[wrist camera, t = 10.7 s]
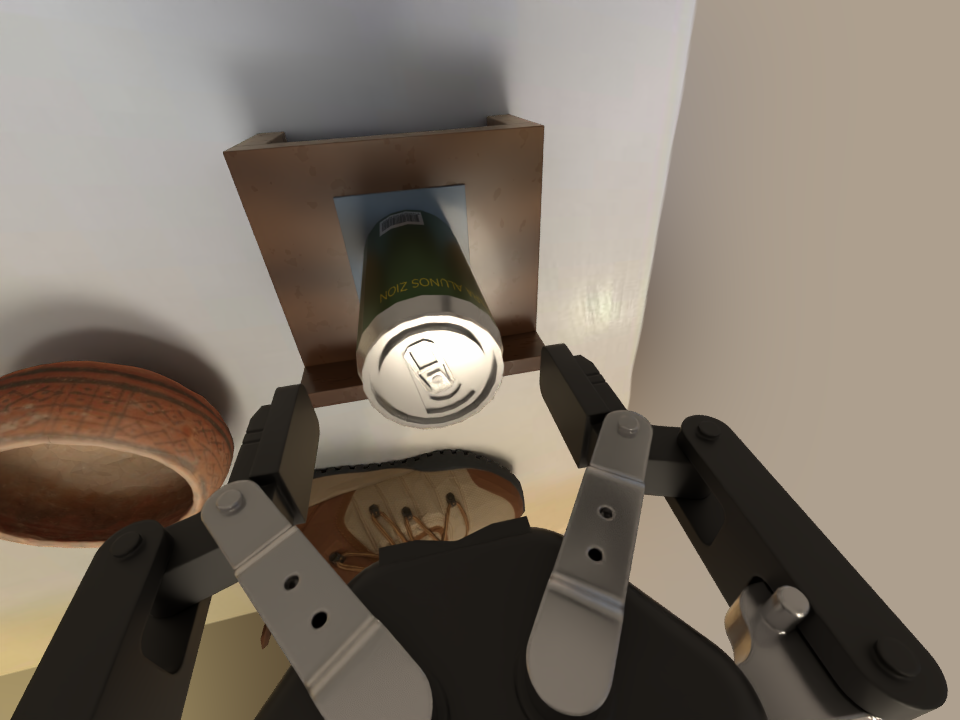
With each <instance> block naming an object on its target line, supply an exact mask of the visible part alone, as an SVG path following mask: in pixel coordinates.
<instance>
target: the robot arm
mask: <svg viewBox="0 0 960 720" xmlns="http://www.w3.org/2000/svg"><path fill="white" fill-rule="evenodd" d="M540 390H541V394H542V397H543V399H544V401H545V403H546V405H547V407H548V409H549V411H550V413H551V415H552V417H553V419H554V421H555V423H556V425H557V427H558V429H559V431H560V433H561V435H562V437H563V439H564V441H565V443H566V445H567V447H568V449H569V451H570V453H571V455H572V457H573V459H574V461H575V463H576V465H577V467H578V469H579V468H584V467H587V468H586V470H585V473H584V476H583V479H582V483H581V486H580V489H579V492H578V495H577V498H576V501H575V504H574V507H573V510H572V513H571V516H570V519H569V523H568V526H567V529H566V532H565V535H564V536H563V535H561V534H559V533H556V532H554V531H551V530H547V529H543V528H537V527H530V525H529V522H528V519H527V516H524V517H520V518H515V519H511V520H506V521H501V522H497V523H492V524H490V525H488V526H486V527H484V528H482V529H480V530H478V531H476V532H474V533H472V534H470V535H468V536H466V537H464V538H462V539H459V540H456V541H436V540H414V541H409V542H404V543H400V544H395V545H391V546H386V547H381V548H379V561H377V562H375V563H373V564H371V565H370V566H368V567H367V568H365V569H364V570H362V571H361V572H360V573H359V574H357V575H356V576H355V577H354V578H353V579H352V580H351V581H350V582H349V583H348V584H347V585H346V583H345V582H344V581H343V580H342V579H341V577H340V576H339V575H338V574H337V573H336V572H335V570H334V569H333V568H332V567H331V566H330V565H329V563H328V562H327V561H326V560H325V559H324V558H323V556H322V555H321V554H320V553H319V552H318V551H317V549H316V548H315V547H314V546H313V545H312V544H311V542H310V541H309V540H308V539H307V538H306V536H305V535H304V534H303V533H302V532H301V531H300V529H299V528H298V527H297V526H296V525H298V524H303V523H306V520H307V513H308V507H309V500H310V494H311V488H312V481H313V475H314V468H315V462H316V455H317V449H318V442H319V435H320V430H319V422H318V418H317V416H316V413H315V411H314V408H313V406H312V403H311V401H310V398H309V396H308V393H307V391H306V388H305V386H304V385H303V384H297V385H291V386H284V387H278V388H277V389H276V391H275V394H274V397H273V400H272V403H271V405H265V406H261V408H260V409H259V410H258V411H257V412H256V413H255V414H254V416H253V417H252V418H251V420H250V422H249V425H248V428H247V431H246V433H247V434H245V436H244V439H243V442H242V443H243V445H241V448H240V450H239V453H238V456H237V459H236V462H235V464H234V467H233V470H232V473H231V476H230V478H229V481H228V484H227V485H225V486H223V487H221V488H219V489H218V490H217V491H215V492H214V493H213V494H212V495H211V496H210V497H209V498H208V499H207V501H206V502H205V504H204V505H203V507H202V510H201V512H199V513H197V514H195V515H193V516H190V517H188V518H186V519H183V520H181V521H179V522H177V523H174V524H172V525H170V526H167V527H165V528H164V527H163V526H162V525H161V524H160V523H159V522H158V521H155V520H141V521H138V522H134V523H132V524H129V525H127V526H125V527H123V528H122V529H120V530H119V531H117V532H116V533H114V534H113V535H112V536H110V537H109V538H108V539H107V540H106V541H105V542H104V543H103V544H102V545H101V547H100V548H99V549H98V551H97V552H96V554H95V556H94V558H93V560H92V562H91V564H90V566H89V567H88V569H87V571H86V573H85V575H84V577H83V579H82V581H81V583H80V585H79V587H78V589H77V591H76V593H75V595H74V597H73V599H72V601H71V603H70V604H69V606H68V608H67V610H66V612H65V614H64V616H63V618H62V620H61V622H60V624H59V626H58V628H57V630H56V632H55V634H54V636H53V638H52V640H51V642H50V643H49V645H48V647H47V649H46V651H45V653H44V655H43V657H42V659H41V661H40V663H39V665H38V667H37V669H36V671H35V673H34V675H33V677H32V679H31V680H30V683H29V684H28V686H27V688H26V690H25V692H24V694H23V696H22V698H21V700H20V702H19V704H18V706H17V708H16V710H15V712H14V714H13V716H12V718H11V720H181V716H182V712H183V708H184V704H185V700H186V696H187V692H188V688H189V684H190V680H191V676H192V672H193V668H194V664H195V660H196V656H197V652H198V648H199V644H200V641H201V636H202V633H203V629H204V625H205V621H206V617H207V613H208V609H209V605H210V601H211V597H212V595H214V594H216V593H217V592H219V591H221V590H223V589H225V588H227V587H229V586H231V585H233V584H235V583H237V582H239V583H240V585H241V586H242V588H243V590H244V591H245V593H246V594H247V596H248V597H249V599H250V601H251V602H252V604H253V605H254V607H255V608H256V610H257V612H258V613H259V615H260V616H261V618H262V619H263V621H264V622H265V624H266V626H267V627H268V629H269V630H270V632H271V633H272V635H273V636H274V638H275V640H276V641H277V643H278V644H279V646H280V648H281V649H282V651H283V652H284V654H285V655H286V657H287V659H288V660H289V662H290V663H291V666H290V667H289V669H288V670H287V672H286V673H285V675H284V676H283V678H282V679H281V681H280V682H279V683H278V685H277V686H276V688H275V689H274V691H273V692H272V694H271V695H270V697H269V698H268V700H267V701H266V703H265V704H264V705H263V707H262V708H261V710H260V711H259V713H258V714H257V716H256V717H255V719H254V720H912V719H914V718H917V717H919V716H921V715H923V714H925V713H928V712H930V711H932V710H934V709H937V708H938V707H940V706H942V705H943V704H944V702H945V701H946V698H947V691H948V689H947V684H946V680H945V678H944V675H943V673H942V671H941V669H940V667H939V666H938V664H937V663H936V661H935V660H934V658H933V657H932V656H931V655H930V653H929V652H928V651H927V650H926V649H925V648H924V647H923V645H922V644H921V643H920V642H919V641H918V640H917V639H916V638H915V636H914V635H913V634H912V633H911V632H910V631H909V630H908V628H907V627H906V626H905V625H904V624H903V623H902V622H901V621H900V619H899V618H898V617H897V616H896V615H895V614H894V613H893V612H892V611H891V609H890V608H889V607H888V606H887V605H886V604H885V603H884V601H883V600H882V599H881V598H880V597H879V596H878V595H877V594H876V592H875V591H874V590H873V589H872V588H871V587H870V586H869V584H868V583H867V582H866V581H865V580H864V579H863V578H862V577H861V576H860V574H859V573H858V572H857V571H856V570H855V569H854V567H853V566H852V565H851V564H850V563H849V562H848V561H847V560H846V558H845V557H844V556H843V555H842V554H841V553H840V552H839V551H838V550H837V548H836V547H835V546H834V545H833V544H832V543H831V542H830V540H829V539H828V538H827V537H826V536H825V535H824V534H823V533H822V531H821V530H820V529H819V528H818V527H817V526H816V525H815V524H814V522H813V521H812V520H811V519H810V518H809V517H808V516H807V515H806V513H805V512H804V511H803V510H802V509H801V508H800V507H799V505H798V504H797V503H796V502H795V501H794V500H793V499H792V498H791V496H790V495H789V494H788V493H787V492H786V491H785V490H784V488H783V487H782V486H781V485H780V484H779V483H778V482H777V481H776V479H775V478H774V477H773V476H772V475H771V474H770V473H769V472H768V470H766V468H765V467H764V466H763V465H762V464H761V462H760V461H759V460H758V459H757V458H756V457H755V456H754V455H753V454H752V452H751V451H750V450H749V449H748V448H747V447H746V446H745V445H744V443H743V442H742V441H741V440H740V439H739V438H738V437H737V436H736V434H735V433H734V432H733V431H732V430H731V429H730V428H729V427H728V426H727V425H726V424H725V423H723V422H721V421H720V420H718V419H715V418H712V417H709V416H704V415H694V416H690V417H687V418H686V419H685V420H684V421H683V422H682V425H681V428H680V427H665V426H655V425H651V424H650V422H649V421H648V420H647V419H646V418H645V417H643V416H642V415H640V414H638V413H636V412H633V411H628V410H627V409H626V408H625V407H624V405H623V404H622V403H621V401H620V400H619V398H618V397H617V396H616V394H615V393H614V392H613V390H612V389H611V387H610V386H609V385H608V383H607V382H605V379H604V378H603V376H602V375H601V374H600V372H599V371H598V370H597V368H596V367H595V365H594V364H593V363H592V362H591V361H589V360H588V359H586V358H585V357H583V356H581V355H577V356H573V355H572V353H571V352H570V350H569V349H568V347H567V346H566V345H565V344H564V343H562V344H555V345H549V346H543V347H542V350H541V364H540ZM644 494H645V495H655V496H664V497H665V499H666V500H667V502H668V504H669V505H670V507H671V509H672V511H673V512H674V514H675V516H676V517H677V519H678V521H679V522H680V524H681V526H682V527H683V529H684V531H685V532H686V534H687V536H688V538H689V539H690V541H691V543H692V544H693V546H694V548H695V549H696V551H697V553H698V554H699V556H700V558H701V559H702V561H703V563H704V564H705V566H706V568H707V570H708V571H709V573H710V575H711V576H712V578H713V580H714V581H715V583H716V585H717V586H718V588H719V590H720V591H721V593H722V595H723V597H724V598H725V600H726V602H727V603H728V605H729V607H730V608H729V610H728V611H727V613H726V616H725V622H724V623H725V629H726V633H727V636H728V638H729V641H730V643H731V645H732V649H733V652H734V661H733V660H732V659H731V658H730V657H729V656H728V655H727V654H726V653H725V652H724V651H723V650H722V649H720V648H719V647H718V646H717V645H716V644H714V643H713V642H711V641H710V640H709V639H707V638H706V637H705V636H703V635H702V634H700V633H699V632H698V631H696V630H695V629H693V628H692V627H691V626H689V625H688V624H686V623H685V622H684V621H682V620H681V619H680V618H678V617H677V616H675V615H674V614H673V613H671V612H670V611H669V610H667V609H666V608H665V607H663V606H662V605H660V604H659V603H658V602H656V601H655V600H653V599H652V598H651V597H649V596H648V595H646V594H645V593H644V592H642V591H641V590H640V589H638V588H637V587H636V586H634V585H633V584H631V583H630V582H629V575H630V570H631V564H632V559H633V552H634V547H635V542H636V536H637V531H638V525H639V519H640V514H641V508H642V502H643V497H644Z"/></svg>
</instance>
